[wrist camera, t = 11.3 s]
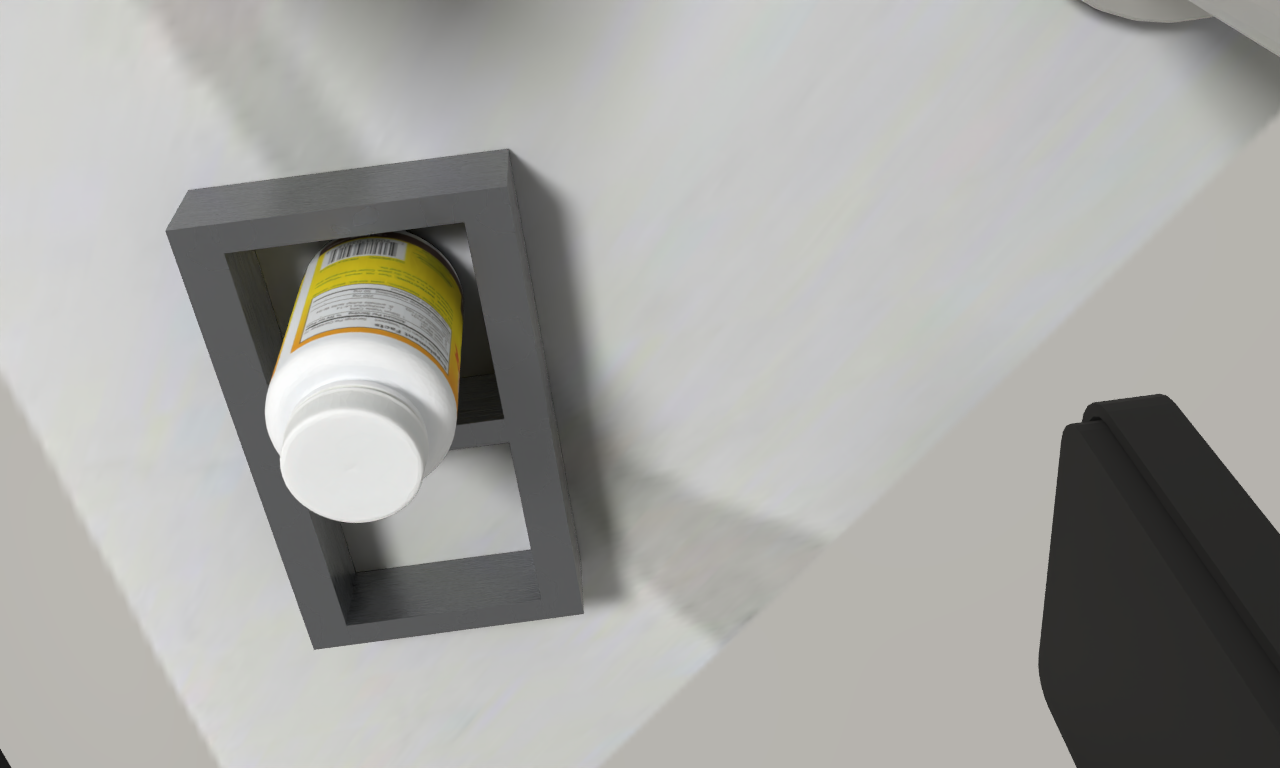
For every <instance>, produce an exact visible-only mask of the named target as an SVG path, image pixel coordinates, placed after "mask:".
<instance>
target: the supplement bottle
mask: <svg viewBox="0 0 1280 768" xmlns="http://www.w3.org/2000/svg"><path fill="white" fill-rule="evenodd" d="M463 319H464V297H463V291H462V287H461V284H460V281H459V278H458V276H457V274H456V272H455V270H454V268H453V267H452V265H451V264H450V262H449V261H448V260H447V259H446V257H445V256H444V255H443V254H442V253H441V252H440V251H439V250H438V249H436V248H435V247H434V246H433V245H431V244H430V243H428V242H427V241H425V240H423V239H422V238H420V237H418V236H416V235H413V234H411V233H408V232H405V231H401V230H400V231H393V232H385V233H377V234H370V235H362V236H354V237H347V238H339V239H334V240H332V241H331V242H329V243H328V244H327V245H325V246H324V247H323V248H322V249H321V250H320V251H319V252H318V253H317V254H316V255H315V256H314V258H313V259H312V260H311V262H310V264H309V265H308V267H307V269H306V272H305V274H304V276H303V279H302V282H301V285H300V288H299V292H298V295H297V298H296V301H295V304H294V308H293V311H292V314H291V318H290V321H289V324H288V327H287V330H286V333H285V337H284V340H283V343H282V346H281V350H280V353H279V356H278V359H277V362H276V365H275V368H274V372H273V375H272V378H271V381H270V384H269V388H268V392H267V396H266V403H265V420H266V427H267V430H268V434H269V437H270V439H271V441H272V443H273V446H274V447H275V449H276V451H277V452H278V454H279V455H280V469H281V473H282V477H283V479H284V482H285V484H286V486H287V488H288V489H289V491H290V492H291V493H292V495H293V496H294V497H295V498H296V499H297V500H298V501H299V502H300V503H301V504H302V505H304V506H305V507H307V508H308V509H310V510H311V511H313V512H314V513H317V514H319V515H321V516H323V517H326V518H329V519H332V520H336V521H341V522H348V523H363V522H371V521H377V520H380V519H383V518H386V517H389V516H391V515H393V514H395V513H397V512H398V511H400V510H401V509H403V508H404V507H405V506H406V505H408V504H409V503H410V502H411V501H412V499H413V498H414V497H415V495H416V494H417V492H418V491H419V489H420V486H421V484H422V481H423V479H424V478H425V477H426V476H428V475H429V474H430V473H431V472H432V471H433V470H434V469H436V467H437V466H438V465H439V464H440V463H441V462H442V460H443V459H444V457H445V456H446V454H447V452H448V451H449V449H450V446H451V444H452V441H453V438H454V434H455V428H456V422H457V410H458V396H459V378H460V363H461V345H462V332H463Z"/></svg>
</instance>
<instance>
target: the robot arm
mask: <svg viewBox="0 0 1280 768" xmlns="http://www.w3.org/2000/svg"><path fill="white" fill-rule="evenodd" d="M1081 1H1083V2H1085V3H1086V4H1088V5H1090V6H1091V7H1093V8H1095V9H1098V10H1100V11H1103V12H1106V13H1110V14H1113V15H1117V16H1120V17H1124V18H1127V19H1131V20H1134V21H1149V22H1164V23H1175V22H1182V21H1190V20H1198V19H1205V18H1211V17H1216V18H1217V19H1219V20H1221V21H1222V22H1224V23H1225V24H1227V25H1229V26H1230V27H1232V28H1233V29H1235V30H1237V31H1238V32H1240V33H1241V34H1243V35H1245V36H1246V37H1248V38H1249V39H1251V40H1253V41H1254V42H1256V43H1258V44H1259V45H1261V46H1262V47H1264V48H1266V49H1267V50H1269V51H1270V52H1272V53H1274V54H1275V55H1277V56H1278V57H1280V0H1081ZM1038 665H1039V676H1040V681H1041V686H1042V690H1043V693H1044V697H1045V700H1046V702H1047V705H1048V707H1049V709H1050V711H1051V714H1052V715H1053V718H1054V720H1055V722H1056V724H1057V726H1058V728H1059V730H1060V733H1061V735H1062V737H1063V739H1064V741H1065V743H1066V746H1067V747H1068V750H1069V752H1070V754H1071V756H1072V758H1073V760H1074V763H1075V765H1076V767H1077V768H1280V534H1279V533H1278V532H1277V530H1276V529H1275V528H1274V527H1273V525H1272V524H1271V523H1270V521H1269V520H1268V519H1267V518H1266V516H1265V515H1264V514H1263V513H1262V512H1261V510H1260V509H1259V508H1258V506H1257V505H1256V504H1255V503H1254V502H1253V500H1252V499H1251V498H1250V496H1249V495H1248V494H1247V493H1246V491H1245V490H1244V489H1243V488H1242V486H1241V485H1240V484H1239V483H1238V481H1237V480H1236V479H1235V478H1234V476H1233V475H1232V474H1231V473H1230V471H1229V470H1228V469H1227V468H1226V466H1225V465H1224V464H1223V463H1222V461H1221V460H1220V459H1219V458H1218V456H1217V455H1216V454H1215V453H1214V451H1213V450H1212V449H1211V448H1210V447H1209V445H1208V444H1207V443H1206V441H1205V440H1204V439H1203V438H1202V436H1201V435H1200V434H1199V433H1198V431H1197V430H1196V429H1195V428H1194V426H1193V425H1192V424H1191V423H1190V421H1189V420H1188V419H1187V418H1186V416H1185V415H1184V414H1183V413H1182V411H1181V410H1180V409H1179V408H1178V406H1177V405H1176V404H1175V403H1174V402H1173V401H1172V400H1171V399H1170V398H1169V397H1168V396H1166V395H1162V394H1155V395H1148V396H1140V397H1133V398H1125V399H1118V400H1111V401H1110V400H1109V401H1103V402H1095V403H1092V404H1090V405H1088V406H1087V408H1086V410H1085V412H1084V414H1083V420H1082V422H1081V423H1074V424H1069V425H1067V426H1066V427H1065V429H1064V431H1063V435H1062V440H1061V448H1060V458H1059V467H1058V477H1057V487H1056V496H1055V506H1054V515H1053V525H1052V534H1051V544H1050V553H1049V563H1048V572H1047V583H1046V591H1045V601H1044V611H1043V620H1042V629H1041V639H1040V648H1039V664H1038ZM0 768H11V766H10V765H9V763H8V761H7V760H6V758H5V756H4V755H3V753H2V751H1V749H0Z"/></svg>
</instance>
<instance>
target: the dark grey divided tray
mask: <svg viewBox="0 0 1280 768" xmlns="http://www.w3.org/2000/svg"><path fill="white" fill-rule="evenodd" d="M462 222H464V223H465V228H466V233H467V238H468V243H469V248H470V252H471V257H472V262H473V267H474V272H475V277H476V282H477V287H478V292H479V296H480V301H481V306H482V311H483V316H484V321H485V326H486V331H487V336H488V341H489V345H490V350H491V355H492V360H493V365H494V370H495V374H489V375H481V376H474V377H466V378H459V396H458V410H457V422H456V428H455V434H454V438H453V441H452V444H451V446H450V449H449V450H455V449H462V448H470V447H478V446H485V445H493V444H500V443H508V442H509V443H510V448H511V453H512V458H513V463H514V468H515V473H516V478H517V483H518V487H519V492H520V497H521V502H522V507H523V512H524V517H525V522H526V527H527V531H528V536H529V541H530V546H531V550H526V551H518V552H510V553H503V554H495V555H488V556H480V557H473V558H465V559H458V560H450V561H442V562H435V563H427V564H420V565H412V566H405V567H397V568H390V569H382V570H375V571H367V572H359V573H356V572H355V569H354V566H353V563H352V559H351V556H350V553H349V550H348V547H347V543H346V540H345V537H344V534H343V531H342V527H341V524H340V521H336V520H332V519H329V518H326V517H323V516H321V515H319V514H317V513H314V512H313V511H311V510H310V509H308V508H307V507H305V506H304V505H302V504H301V503H300V502H299V501H298V500H297V499H296V498H295V497H294V496H293V495H292V493H291V492H290V491H289V489H288V488H287V486H286V484H285V482H284V479H283V477H282V473H281V469H280V455H279V454H278V452H277V451H276V449H275V447H274V446H273V443H272V441H271V439H270V437H269V434H268V430H267V427H266V420H265V403H266V396H267V392H268V388H269V384H270V381H271V378H272V375H273V372H274V368H275V365H276V362H277V359H278V356H279V353H280V350H281V346H282V343H283V339H282V336H281V333H280V329H279V326H278V323H277V320H276V317H275V314H274V310H273V307H272V304H271V301H270V298H269V294H268V291H267V288H266V285H265V282H264V278H263V275H262V272H261V269H260V266H259V262H258V259H257V256H256V253H255V249H262V248H270V247H278V246H285V245H293V244H301V243H308V242H316V241H324V240H331V239H339V238H347V237H354V236H362V235H370V234H377V233H385V232H393V231H400V230H408V229H416V228H423V227H431V226H439V225H446V224H454V223H462ZM166 234H167V237H168V239H169V242H170V245H171V248H172V251H173V254H174V256H175V259H176V262H177V265H178V268H179V270H180V273H181V276H182V279H183V282H184V285H185V287H186V290H187V293H188V296H189V299H190V301H191V304H192V307H193V310H194V313H195V316H196V318H197V321H198V324H199V327H200V330H201V332H202V335H203V338H204V341H205V344H206V347H207V349H208V352H209V355H210V358H211V361H212V363H213V366H214V369H215V372H216V375H217V378H218V380H219V383H220V386H221V389H222V392H223V394H224V397H225V400H226V403H227V406H228V408H229V411H230V414H231V417H232V420H233V423H234V425H235V428H236V431H237V434H238V437H239V439H240V442H241V445H242V448H243V451H244V454H245V456H246V459H247V462H248V465H249V468H250V470H251V473H252V476H253V479H254V482H255V485H256V487H257V490H258V493H259V496H260V499H261V501H262V504H263V507H264V510H265V513H266V516H267V518H268V521H269V524H270V527H271V530H272V532H273V535H274V538H275V541H276V544H277V547H278V549H279V552H280V555H281V558H282V561H283V563H284V566H285V569H286V572H287V575H288V578H289V580H290V583H291V586H292V589H293V592H294V594H295V597H296V600H297V603H298V606H299V609H300V611H301V614H302V617H303V620H304V623H305V625H306V628H307V631H308V634H309V637H310V640H311V642H312V645H313V648H314V650H315V649H323V648H330V647H338V646H345V645H353V644H360V643H368V642H376V641H383V640H391V639H398V638H406V637H413V636H421V635H428V634H436V633H443V632H451V631H458V630H466V629H473V628H481V627H488V626H496V625H504V624H511V623H519V622H526V621H534V620H541V619H549V618H556V617H564V616H571V615H579V614H584V608H583V589H582V571H581V559H580V554H579V548H578V542H577V537H576V531H575V525H574V520H573V514H572V508H571V503H570V497H569V491H568V486H567V480H566V474H565V468H564V463H563V457H562V451H561V446H560V440H559V434H558V429H557V423H556V417H555V412H554V406H553V400H552V395H551V389H550V383H549V378H548V372H547V366H546V360H545V355H544V349H543V343H542V338H541V332H540V326H539V321H538V315H537V309H536V304H535V298H534V292H533V287H532V281H531V275H530V270H529V264H528V258H527V252H526V247H525V241H524V235H523V230H522V224H521V218H520V213H519V207H518V201H517V196H516V190H515V184H514V179H513V173H512V167H511V161H510V156H509V150H508V149H503V150H495V151H487V152H480V153H472V154H464V155H457V156H449V157H441V158H433V159H426V160H418V161H410V162H403V163H395V164H387V165H380V166H372V167H364V168H357V169H349V170H341V171H334V172H326V173H318V174H311V175H303V176H295V177H287V178H280V179H272V180H264V181H257V182H249V183H241V184H234V185H226V186H218V187H211V188H203V189H195V190H188V192H187V194H186V195H185V197H184V199H183V201H182V202H181V204H180V206H179V208H178V209H177V211H176V213H175V215H174V217H173V218H172V220H171V222H170V224H169V225H168V227H167V229H166Z"/></svg>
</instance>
